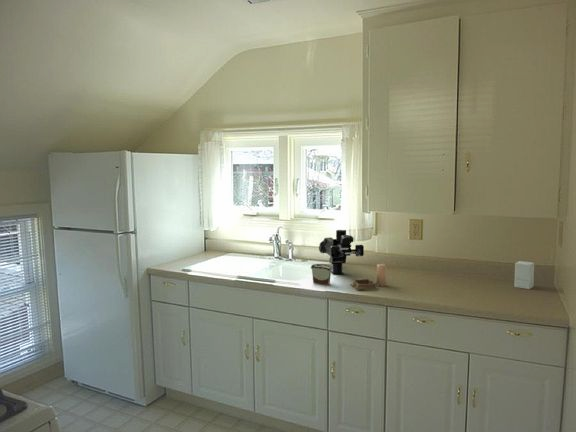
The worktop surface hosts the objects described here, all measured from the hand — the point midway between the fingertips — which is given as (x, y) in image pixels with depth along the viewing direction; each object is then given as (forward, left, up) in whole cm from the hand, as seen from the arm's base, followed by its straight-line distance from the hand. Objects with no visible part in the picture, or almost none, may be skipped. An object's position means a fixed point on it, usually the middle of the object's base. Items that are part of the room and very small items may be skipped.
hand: (352, 254), depth 232 cm
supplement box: (+26, +84, -17) cm, 89 cm away
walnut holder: (+7, +4, -16) cm, 18 cm away
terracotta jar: (+5, +14, -17) cm, 23 cm away
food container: (-6, -14, -17) cm, 23 cm away
